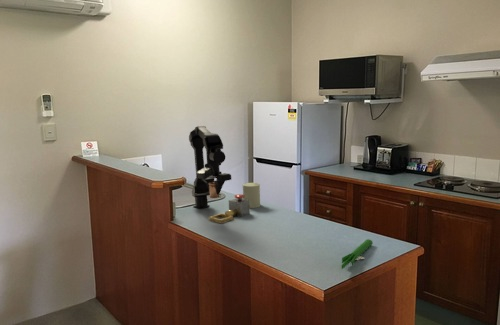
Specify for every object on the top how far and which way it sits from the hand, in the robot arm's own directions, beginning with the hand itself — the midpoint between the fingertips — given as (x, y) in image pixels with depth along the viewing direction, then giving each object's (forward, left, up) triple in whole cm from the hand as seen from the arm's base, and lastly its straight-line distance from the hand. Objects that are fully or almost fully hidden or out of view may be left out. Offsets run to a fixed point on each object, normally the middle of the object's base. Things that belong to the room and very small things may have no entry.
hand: (214, 193), depth 192 cm
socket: (+3, 0, -12) cm, 13 cm away
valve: (+3, +10, -12) cm, 16 cm away
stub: (0, 0, -2) cm, 2 cm away
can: (-3, +28, -12) cm, 31 cm away
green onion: (+76, -3, -13) cm, 77 cm away
